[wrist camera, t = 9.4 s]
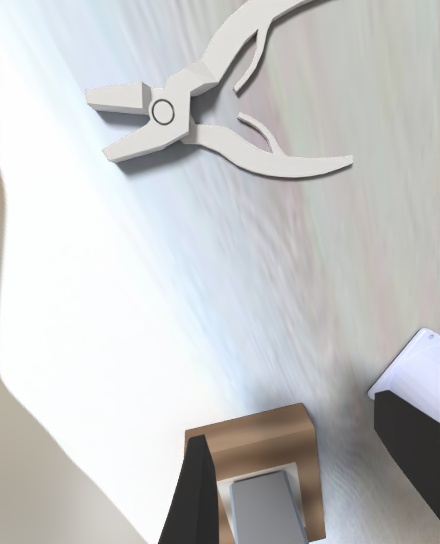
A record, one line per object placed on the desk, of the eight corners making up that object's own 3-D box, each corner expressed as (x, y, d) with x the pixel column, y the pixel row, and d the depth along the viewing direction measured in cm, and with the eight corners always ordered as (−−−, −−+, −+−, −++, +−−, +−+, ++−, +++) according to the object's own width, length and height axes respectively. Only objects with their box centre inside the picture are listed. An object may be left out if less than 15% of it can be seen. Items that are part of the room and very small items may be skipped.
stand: (185, 430, 22) (183, 463, 19) (301, 402, 22) (316, 431, 19) (220, 531, 27) (223, 568, 24) (314, 508, 27) (327, 542, 24)
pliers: (362, 165, 15) (124, 218, 14) (346, 168, 16) (131, 215, 16) (359, -51, 12) (54, 9, 11) (341, -24, 13) (71, 31, 13)
